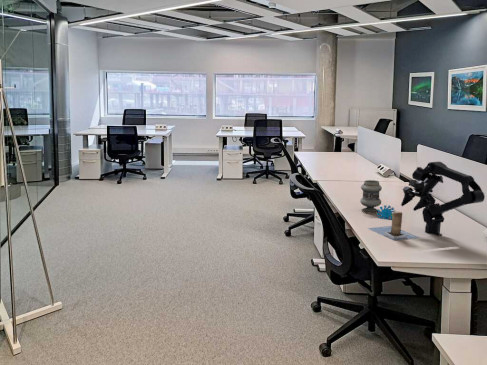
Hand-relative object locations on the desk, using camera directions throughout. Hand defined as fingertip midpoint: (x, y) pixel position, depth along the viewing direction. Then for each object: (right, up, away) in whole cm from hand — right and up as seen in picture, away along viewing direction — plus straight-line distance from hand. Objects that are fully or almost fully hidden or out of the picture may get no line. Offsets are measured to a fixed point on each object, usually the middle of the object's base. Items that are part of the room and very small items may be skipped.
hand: (407, 207), depth 238 cm
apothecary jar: (-5, -5, +50) cm, 51 cm away
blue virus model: (-1, -8, +31) cm, 32 cm away
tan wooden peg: (-8, -14, -5) cm, 16 cm away
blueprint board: (-7, -13, +2) cm, 15 cm away
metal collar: (-8, -14, -5) cm, 16 cm away
